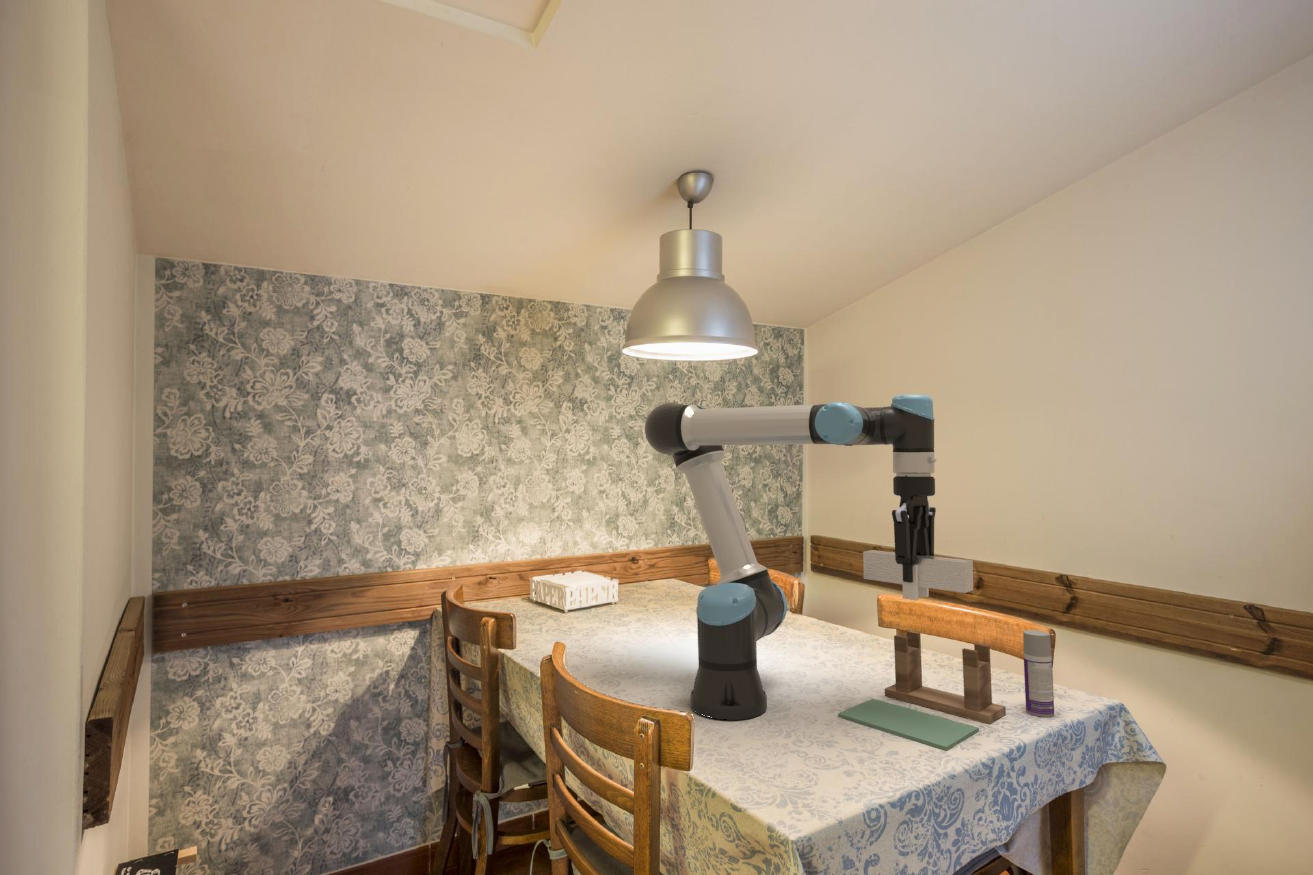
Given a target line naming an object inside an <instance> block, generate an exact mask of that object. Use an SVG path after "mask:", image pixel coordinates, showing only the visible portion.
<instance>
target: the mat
mask: <svg viewBox="0 0 1313 875" xmlns="http://www.w3.org/2000/svg"><path fill="white" fill-rule="evenodd" d="M837 717H838V718H840V719H844V720H848V721H851V722H854V723H857V724H859V725H864V726H867V727H870V728H872V729H876V730H880V731H883V732H885V733H889V734H891V735H895V736H897V737H898V736H899V737H902V738H904V739H908V740H911V741H915V742H917V743H921V744H924V745H927V746H930V747H933V748H937V749H939V750H943V751H946V752H947V751H949V750H950V749H952V748H954V747H955V746H957V745H958V744H960V743H962V742H964V741H965V740H966V739H968V738H970V737H972V736H974V735H975V734H977V733H978V732H980V731H979V729H980V728H979V727H978V726H974V725H970V724H967V723H964V722H959V721H957V720H952V719H950V718H946V717H945V718H944V717H942V716H938V715H934V714H931V713H927V712H923V711H920V710H917V709H912V708H909V707H906V706H901V705H898V704H894V703H891V702H887V701H884V700H879V699H876V698H870V699H868V700H865V701H864V702H861V703H859V704H856V705H854V706H852V707H850V708H847V709H846V710H843V711H841V712H838V714H837Z"/></svg>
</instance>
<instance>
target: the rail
mask: <svg viewBox="0 0 1313 875" xmlns="http://www.w3.org/2000/svg"><path fill="white" fill-rule="evenodd" d="M862 553H863V555H862V556H863V557H862V558H863V579H864V580H870V581H876V582H884V583H891V584H892V583H893V584H899V585H903V582H902V564H897V562H896V560H895V551H884V550H875V549H872V550H866V551H863V552H862ZM973 562H974V561H973V559H972V560H971V559H962V558H951V557H945V556H943V557H942V556H935V555H934V556H925V555H916V557H915V565H918V586H919V587H926V588H929V589H934V590H940V591H949V592H955V593H956V592H958V593H962V594H963V593H964V594H967V593H969V592H972V591H974V566H973V564H974V563H973Z"/></svg>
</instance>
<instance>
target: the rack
mask: <svg viewBox="0 0 1313 875" xmlns="http://www.w3.org/2000/svg"><path fill="white" fill-rule="evenodd" d="M893 642H894V644H893V645H894V646H893V647H894V649H893V650H894V669H895V672H894V673H895V683H894V684H892V685H890V686H887V687H885V688H884V696H885V697H888V698H890V699H891V698H892V699H895V700H899V701H902V702H906V703H910V704H913V705H917V706H921V707H924V708H928V709H932V710H935V711H939V712H943V713H946V714H951V715H954V716H958V717H961V718H965V719H969V720H971V721H976V722H979V723H983V724H987V725H991V724H994V723H995V722H996V721H998V720H999V719H1001V718H1002V717H1004V716H1006V715H1007V713H1006V712H1007V710H1006V706H1005V705H1001V704H997V703H993V696H992V695H993V693H992V692H993V691H992V689H993V688H992V672H991V671H992V670H991V669H992V668H991V667H992V666H991V646H990V645H986V644H981V643H974V644H973V646H974V647H973V649H972V648H969V649H968V648H962V649H961V652H962V654H961V655H962V676H963V678H962V679H963V695H961V694H956V693H954V692H953V693H952V692H948V691H944V690H941V689H937V688H932V687H928V686H924V685H923V673H922V672H923V671H922V644H921V632H915V631H911V630H908V631H907V630H906V636H902V635H897V634H895V635H893Z"/></svg>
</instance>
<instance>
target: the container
mask: <svg viewBox="0 0 1313 875" xmlns="http://www.w3.org/2000/svg"><path fill="white" fill-rule="evenodd" d="M1022 633H1023V634H1022V635H1023V638H1022V639H1023V672H1024V673H1023V674H1024V692H1025V693H1024V694H1025V695H1024V696H1025V711H1026V713H1028V715H1031V716H1035V717H1039V716H1042V717H1041V718H1051V717H1050V716H1052V717H1054V716H1055V702H1054V676H1053V675H1054V674H1053V658H1052V657H1053V656H1052V643H1051V634H1050V633H1049V632H1047V631H1045V630H1038V629H1027V630H1026V629H1025V630H1024V631H1022Z"/></svg>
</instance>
